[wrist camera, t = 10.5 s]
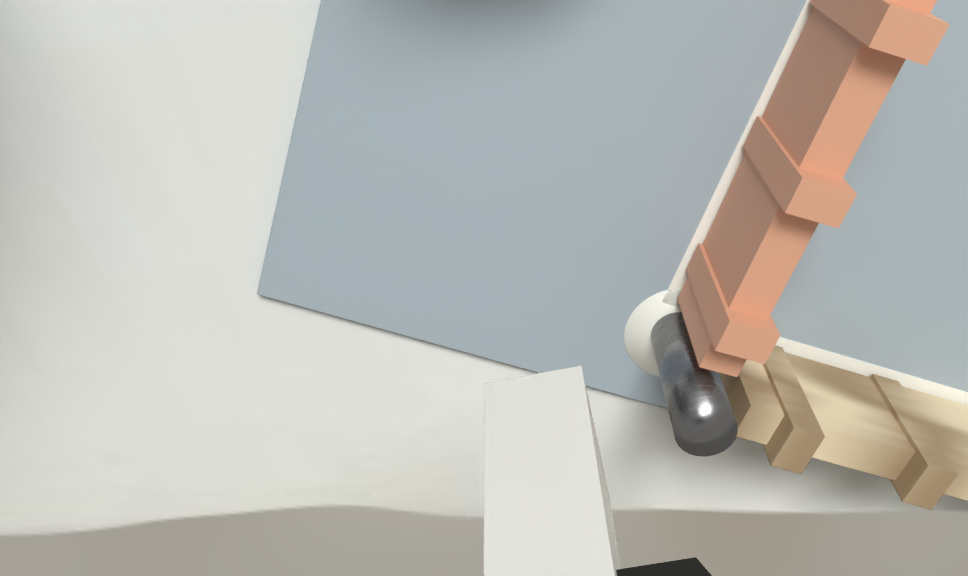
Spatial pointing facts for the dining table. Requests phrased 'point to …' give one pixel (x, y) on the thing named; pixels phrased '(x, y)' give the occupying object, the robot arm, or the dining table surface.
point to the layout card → (605, 185)
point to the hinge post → (691, 391)
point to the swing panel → (797, 170)
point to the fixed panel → (852, 425)
